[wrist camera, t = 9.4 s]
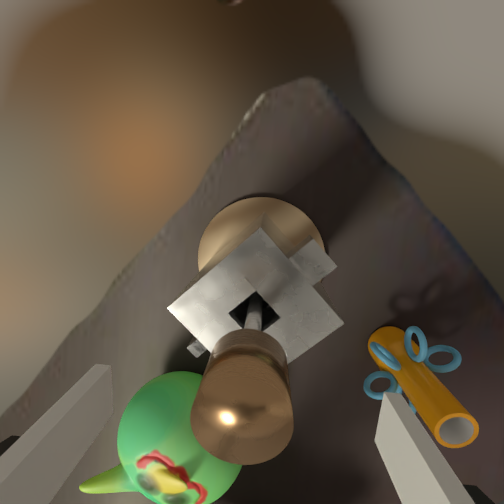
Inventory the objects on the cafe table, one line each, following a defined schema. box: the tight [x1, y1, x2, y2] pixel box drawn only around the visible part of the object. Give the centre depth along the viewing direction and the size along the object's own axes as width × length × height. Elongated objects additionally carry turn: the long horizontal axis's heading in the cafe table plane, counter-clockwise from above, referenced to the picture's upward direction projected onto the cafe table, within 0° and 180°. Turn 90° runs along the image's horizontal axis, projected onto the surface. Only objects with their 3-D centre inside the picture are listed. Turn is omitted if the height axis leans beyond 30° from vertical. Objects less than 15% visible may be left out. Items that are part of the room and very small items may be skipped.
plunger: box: [190, 291, 294, 465], centre depth 21 cm, size 7×7×20 cm
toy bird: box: [79, 371, 242, 504], centre depth 37 cm, size 18×17×15 cm
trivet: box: [198, 197, 325, 282], centre depth 38 cm, size 18×18×1 cm
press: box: [168, 212, 344, 364], centre depth 29 cm, size 10×16×17 cm, turn 131°
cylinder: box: [364, 326, 479, 448], centre depth 32 cm, size 12×10×15 cm
